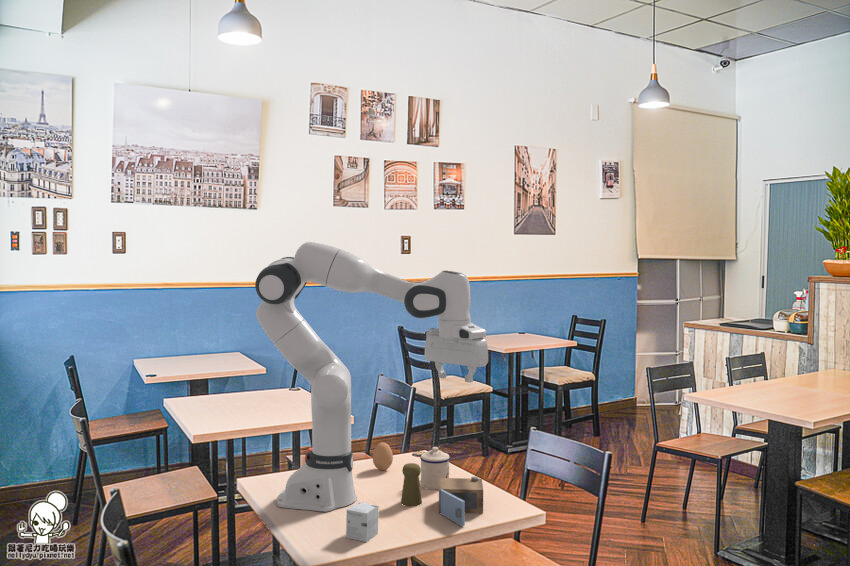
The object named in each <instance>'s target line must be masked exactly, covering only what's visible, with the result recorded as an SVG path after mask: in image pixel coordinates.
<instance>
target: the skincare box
mask: <svg viewBox="0 0 850 566" xmlns="http://www.w3.org/2000/svg"><path fill="white" fill-rule="evenodd" d="M345 529H346V531H345V534H346V536H345V538H346V539H350V540H355V541H359V542H364V543H368V542H369V541H370V540H371V539H373V538H374V537H375V536H377V535H378V534H379V505H377V504H372V503H367V502H361V501H357V502H356V503H354V504H353V505H351V506H350V507H348V508H347V509H346V527H345Z"/></svg>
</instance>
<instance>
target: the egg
mask: <svg viewBox="0 0 850 566" xmlns="http://www.w3.org/2000/svg"><path fill="white" fill-rule="evenodd" d="M393 454H394V453H393V451H392V449H391V447H390V445H389V444H388V443H386V442H382V441H381V442H379V443H378V444H376V446H375V447H374V450H373V453H372V463H373V465H374V466H375V468H376V469H377V470H379V471H381V472H382V471H383V472H384V471H387V470H388V469H389V468H390V467H391V466H392V464H393V461H394V460H393V459H394V455H393Z"/></svg>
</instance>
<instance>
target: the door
mask: <svg viewBox="0 0 850 566" xmlns="http://www.w3.org/2000/svg"><path fill="white" fill-rule="evenodd" d="M438 513H439V514H440V515H442V516H444V517H446V518H447V519H449V520H451V521H453V522H455V523H456V524H457V525H460V526H461V527H464V526H465V521H466V520H465V519H466V513H465V501H463V500H462V499H460V498H458V497H456V496H454V495H452V494H450V493H448V492H446V491H445V490H443V489H439V490H438Z"/></svg>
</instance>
